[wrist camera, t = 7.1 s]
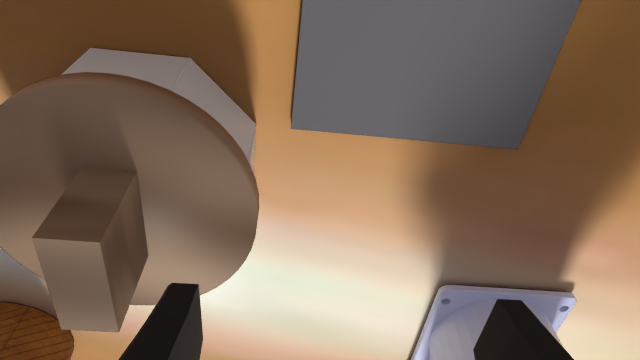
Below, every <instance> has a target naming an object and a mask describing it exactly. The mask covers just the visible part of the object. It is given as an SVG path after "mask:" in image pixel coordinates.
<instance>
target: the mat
mask: <svg viewBox="0 0 640 360" xmlns="http://www.w3.org/2000/svg"><path fill="white" fill-rule="evenodd" d="M580 3H581V0H303V2H302V13H301V24H300V35H299V46H298V56H297V67H296V78H295V89H294V100H293V110H292V121H291V129H300V130H311V131H322V132H333V133H344V134H355V135H366V136H377V137H388V138H399V139H410V140H421V141H432V142H443V143H454V144H465V145H476V146H487V147H498V148H509V149H518V148H519V145H520V143H521V141H522V138H523V136H524V134H525V131H526V129H527V127H528V124H529V122H530V120H531V117H532V115H533V113H534V110H535V108H536V105H537V103H538V101H539V98H540V96H541V94H542V91H543V89H544V87H545V84H546V82H547V80H548V77H549V75H550V73H551V70H552V68H553V66H554V63H555V61H556V59H557V56H558V54H559V52H560V49H561V47H562V45H563V42H564V40H565V38H566V35H567V33H568V31H569V28H570V26H571V24H572V21H573V19H574V17H575V14H576V12H577V10H578V7H579V5H580Z"/></svg>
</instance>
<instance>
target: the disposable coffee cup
mask: <svg viewBox="0 0 640 360" xmlns="http://www.w3.org/2000/svg"><path fill="white" fill-rule="evenodd" d="M73 350H74V341H73V338H72V336H71V334H70V332H69V331H68V330H63V329H61V327H60V324H59V321H57V320H56V319H54V318H53V317H51V316H49V315H48V314H46V313H44V312H41V311H39V310H36V309H34V308H31V307H27V306H23V305H19V304H13V303H2V302H0V360H70V359H71V356H72V353H73Z"/></svg>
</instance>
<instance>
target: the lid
mask: <svg viewBox="0 0 640 360" xmlns="http://www.w3.org/2000/svg"><path fill="white" fill-rule="evenodd" d="M258 212H259V193H258V188H257V183H256V179H255V176H254V173H253V171H252V168H251V165H250V163H249V162H248V160H247V158H246V156H245V154H244V152H243V151H242V149H241V148H240V147H239V145H238V144H237V142H236V141H235V140H234V138H233V137H232V136H231V135H230V134H229V133H228V132H227V131H226V129H225V128H224V127H223V126H222V125H221V124H220V123H219V122H218V121H216V120H215V119H214V118H213V117H212V116H210V115H209V114H208V113H207V112H206V111H204V110H203V109H201V108H200V107H198V106H197V105H195V104H194V103H192V102H191V101H189V100H188V99H186V98H184V97H182V96H180V95H178V94H176V93H174V92H173V91H171V90H168V89H166V88H163V87H161V86H158V85H156V84H153V83H151V82H148V81H144V80H140V79H137V78H133V77H129V76H123V75H117V74H111V73H96V72H81V73H69V74H63V75H58V76H54V77H49V78H45V79H43V80H40V81H38V82H35V83H32V84H30V85H28V86H26V87H25V88H23V89H21V90H19V91H18V92H16V93H14V94H13V95H12V96H11V97H10V98H8V99H7V100H6V101H5V102H4V103H2V104H1V105H0V247H1V248H2V249H3V250H4V251H5V252H6V253H8V254H9V255H10V256H11V257H12V258H13V259H15V260H16V261H17V262H18V263H20V264H21V265H22V266H24V267H25V268H27V269H28V270H30V271H31V272H33V273H34V274H36V275H37V276H39V277H41V278H43V279H45V281H46V284H47V287H48V290H49V293H50V296H51V299H52V302H53V305H54V308H55V311H56V314H57V318H58V321H59V324H60V327H61V329H63V330H83V331H102V332H119V331H120V328H121V326H122V323H123V320H124V318H125V315H126V313H127V310H128V308H129V305H157V303H158V301H159V300H160V298H161V297H162V295H163V293H164V291H165V290H166V288H167V286H168V285H170V284H171V283H187V284H199V295H202V294H204V293H207V292H209V291H211V290H212V289H214V288H216V287H218V286H219V285H221V284H222V283H224V282H225V281H226V280H228V279H229V278H230V277H231V276H232V275H233V274H234V273H235V272H236V271H237V270H238V269H239V268H240V267H241V265H242V264H243V263H244V261H245V260H246V258H247V256H248V254H249V252H250V251H251V248H252V245H253V242H254V239H255V234H256V227H257V219H258Z"/></svg>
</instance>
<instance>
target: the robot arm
mask: <svg viewBox="0 0 640 360" xmlns="http://www.w3.org/2000/svg"><path fill="white" fill-rule="evenodd" d="M576 301H577V300H576V298H575V296H574V295H573V294H572V293H569V292H555V291H539V290H523V289H507V288H491V287H475V286H460V285H444V286H442V287H440V288H439V290H438V292H437V294H436V297H435V299H434V302H433V305H432V307H431V310H430V312H429V315H428V317H427V320H426V322H425V325H424V328H423V330H422V333H421V335H420V338H419V340H418V343H417V345H416V348H415V351H414V353H413V356H412V358H411V360H574V359H573V358H572V357H571V356H570V355H569V354H568V352H567V351H566V350H565V349H564V348H563V346H562V344H561V342H560V340H559V338H558V336H557V334H556V332H557V331H558V329H559V328H560V326H561V325H562V323H563V321H564V320H565V318H566V317H567V315H568V314H569V312H570V311H571V309H572V308H573V306H574V305H575V303H576ZM202 341H203V334H202V321H201V308H200V295H199V284H187V283H171V284H170V285H168V286H167V288H166V290H165V291H164V293H163V295H162V297H161V298H160V300H159V301H158V303H157V305H156V306H155V308H154V309H153V311H152V313H151V314H150V316H149V317H148V319H147V320H146V322H145V323H144V325H143V326H142V328H141V329H140V330H139V332H138V333H137V335H136V336H135V338H134V339H133V340H132V342H131V343H130V345H129V346H128V347H127V349H126V350H125V351H124V353H123V354H122V356H121V357H120V358H119V360H199V359H200V353H201V347H202Z"/></svg>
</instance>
